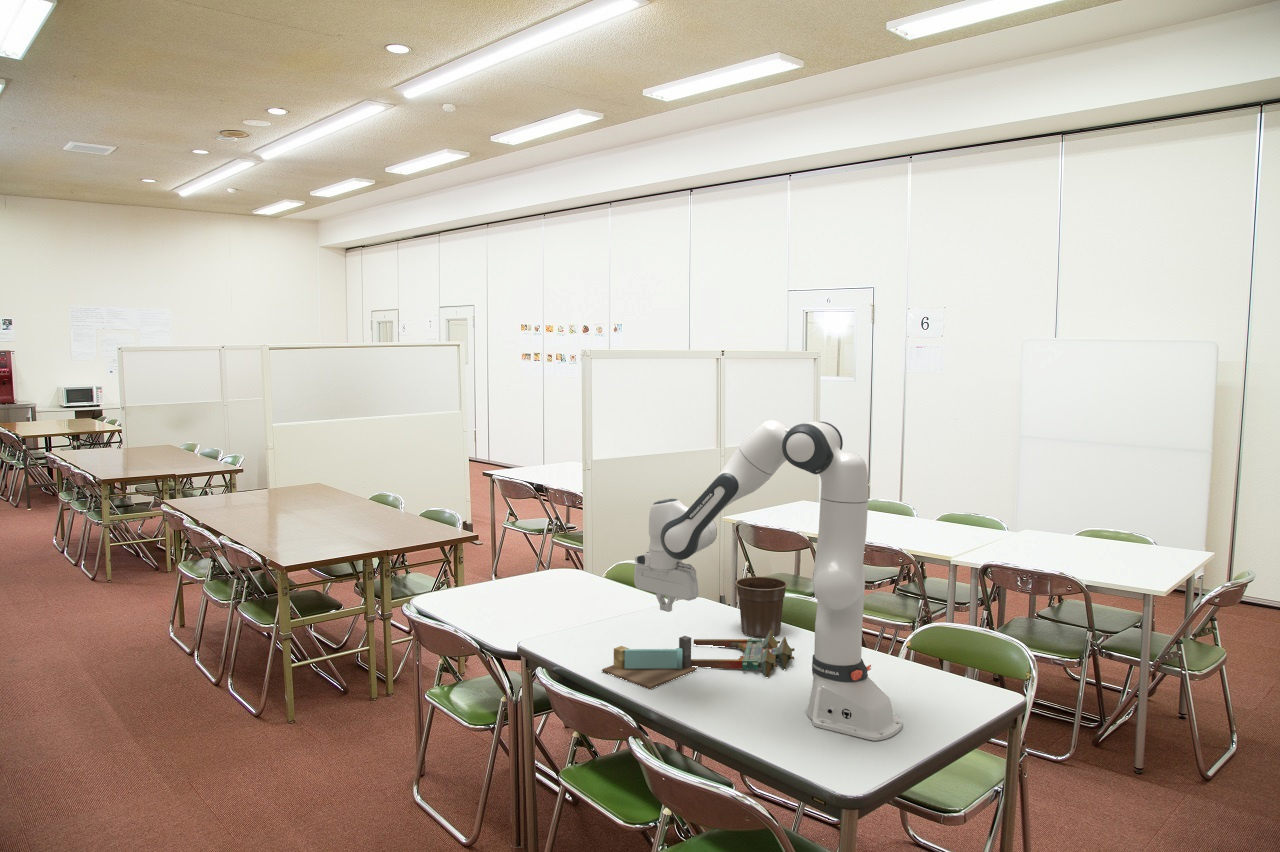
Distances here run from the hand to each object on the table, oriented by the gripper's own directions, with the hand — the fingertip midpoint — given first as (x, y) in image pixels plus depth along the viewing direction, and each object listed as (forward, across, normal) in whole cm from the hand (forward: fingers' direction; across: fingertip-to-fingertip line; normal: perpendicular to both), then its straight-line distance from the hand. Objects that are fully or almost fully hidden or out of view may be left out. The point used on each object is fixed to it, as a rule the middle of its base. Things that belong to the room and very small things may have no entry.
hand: (665, 610), depth 223 cm
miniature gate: (+20, -5, -27) cm, 34 cm away
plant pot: (+19, +6, -51) cm, 55 cm away
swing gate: (+18, +6, -2) cm, 19 cm away
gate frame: (+19, +7, -1) cm, 20 cm away
